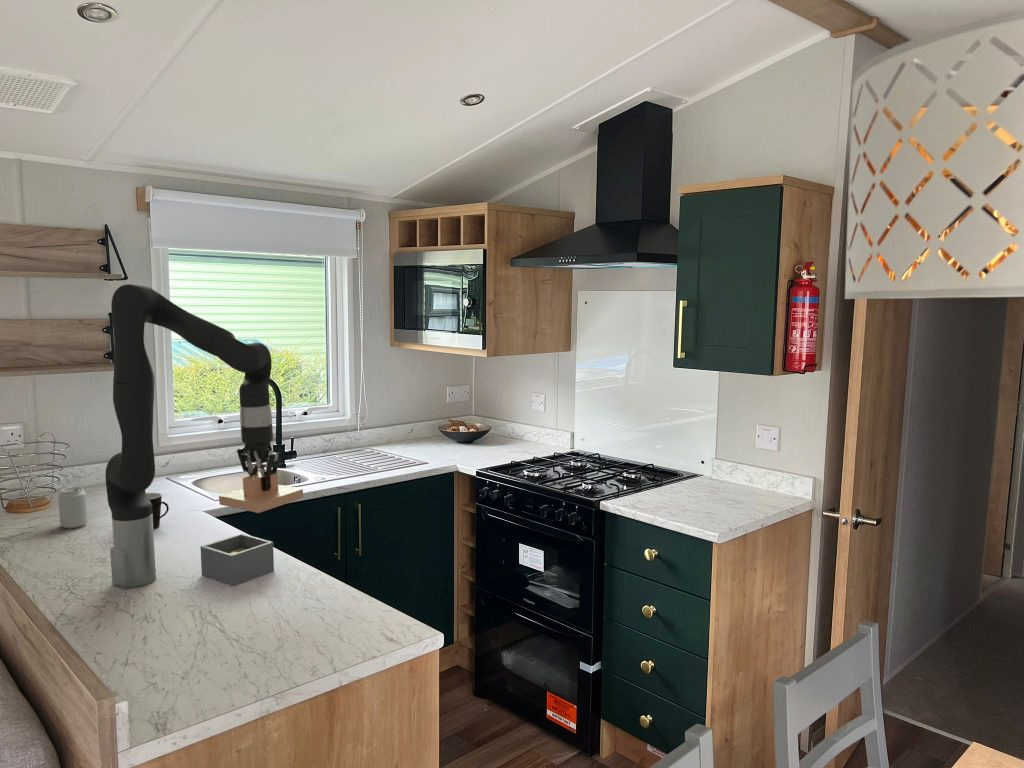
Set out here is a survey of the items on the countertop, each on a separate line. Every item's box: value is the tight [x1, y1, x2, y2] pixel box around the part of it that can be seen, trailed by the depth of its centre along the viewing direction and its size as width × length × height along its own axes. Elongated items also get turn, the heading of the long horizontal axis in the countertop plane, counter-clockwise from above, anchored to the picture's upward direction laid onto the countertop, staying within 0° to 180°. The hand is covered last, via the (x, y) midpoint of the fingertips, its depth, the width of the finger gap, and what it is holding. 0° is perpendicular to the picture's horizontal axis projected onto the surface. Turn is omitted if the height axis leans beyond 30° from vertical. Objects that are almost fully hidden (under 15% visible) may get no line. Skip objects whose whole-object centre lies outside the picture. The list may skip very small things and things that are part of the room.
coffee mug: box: [146, 492, 170, 530], centre depth 238 cm, size 12×9×10 cm
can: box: [57, 486, 89, 530], centre depth 240 cm, size 8×8×12 cm
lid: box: [218, 470, 304, 514], centre depth 194 cm, size 14×14×7 cm
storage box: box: [200, 533, 275, 587], centre depth 200 cm, size 13×13×8 cm
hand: (260, 489), depth 193 cm, fingers closed on lid, 3 cm apart
